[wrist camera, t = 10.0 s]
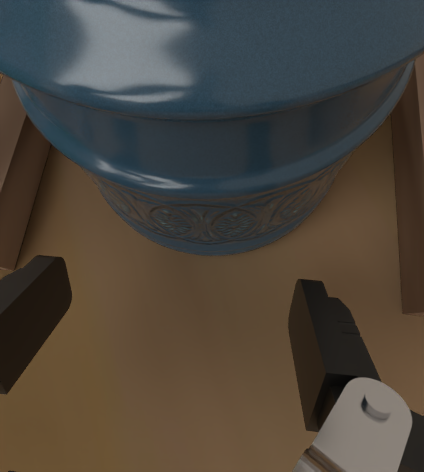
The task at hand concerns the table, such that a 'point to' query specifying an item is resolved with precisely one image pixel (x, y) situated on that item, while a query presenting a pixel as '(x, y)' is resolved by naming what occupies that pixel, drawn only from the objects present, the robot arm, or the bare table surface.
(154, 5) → the canister
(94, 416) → the table surface
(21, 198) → the shallow wooden tray
